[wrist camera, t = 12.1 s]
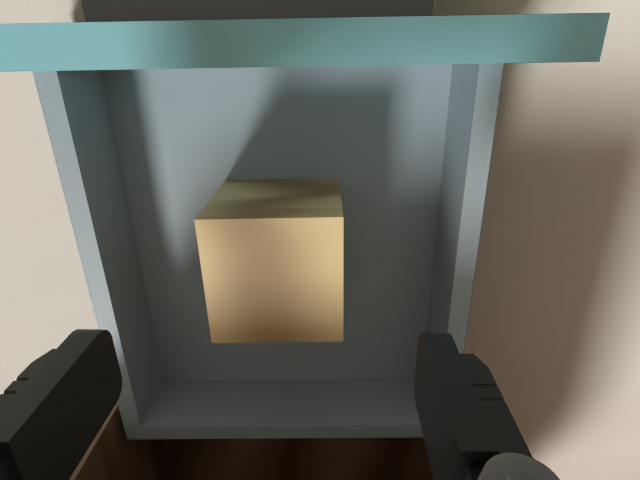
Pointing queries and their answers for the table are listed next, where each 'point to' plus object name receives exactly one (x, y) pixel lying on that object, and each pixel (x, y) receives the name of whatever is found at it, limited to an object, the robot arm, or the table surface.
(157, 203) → the drawer
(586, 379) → the table surface
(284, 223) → the oak block
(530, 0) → the table surface
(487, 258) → the table surface
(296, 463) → the cabinet
